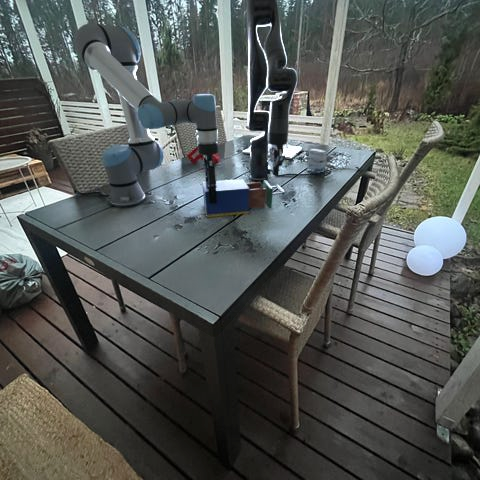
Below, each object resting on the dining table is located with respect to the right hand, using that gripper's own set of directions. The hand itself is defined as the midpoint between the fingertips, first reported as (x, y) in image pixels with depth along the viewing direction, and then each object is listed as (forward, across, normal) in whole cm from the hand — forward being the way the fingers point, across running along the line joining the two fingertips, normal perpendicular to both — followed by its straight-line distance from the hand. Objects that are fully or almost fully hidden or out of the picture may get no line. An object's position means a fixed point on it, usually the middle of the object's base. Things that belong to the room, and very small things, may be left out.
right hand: (275, 174), depth 112 cm
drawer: (+13, 0, -8) cm, 15 cm away
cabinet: (+14, 0, -21) cm, 25 cm away
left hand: (+7, 0, -27) cm, 28 cm away
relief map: (+14, -85, +27) cm, 90 cm away
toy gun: (+14, -68, -24) cm, 73 cm away
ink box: (+14, -38, +37) cm, 55 cm away
